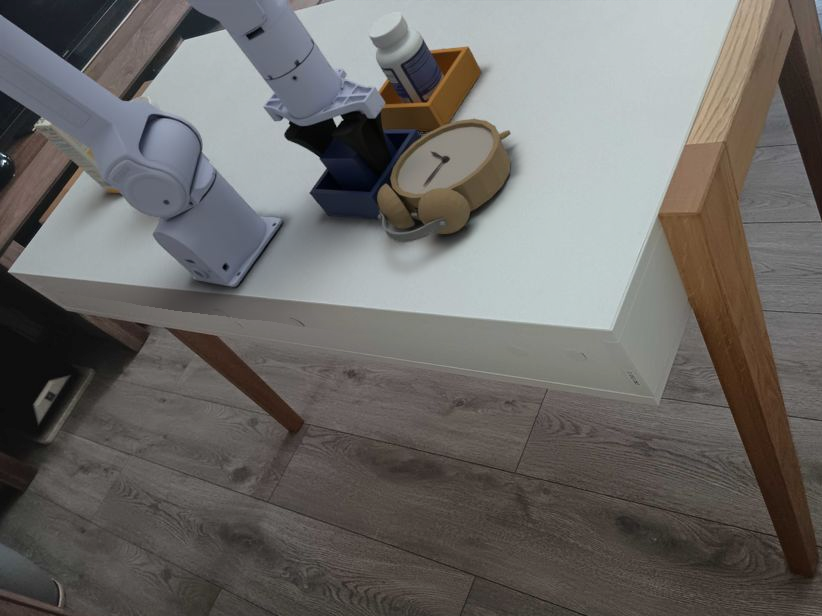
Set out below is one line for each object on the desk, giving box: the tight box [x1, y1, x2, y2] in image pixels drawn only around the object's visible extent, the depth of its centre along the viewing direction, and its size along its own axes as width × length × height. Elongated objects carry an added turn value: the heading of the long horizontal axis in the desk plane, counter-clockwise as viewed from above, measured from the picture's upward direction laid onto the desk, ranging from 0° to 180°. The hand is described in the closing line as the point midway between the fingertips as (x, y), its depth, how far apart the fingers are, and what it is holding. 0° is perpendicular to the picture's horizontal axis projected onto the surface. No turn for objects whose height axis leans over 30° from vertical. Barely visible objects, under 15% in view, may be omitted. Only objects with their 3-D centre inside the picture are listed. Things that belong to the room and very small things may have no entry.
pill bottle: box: [368, 11, 444, 104], centre depth 80 cm, size 5×5×10 cm
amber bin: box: [378, 46, 482, 132], centre depth 83 cm, size 9×9×3 cm
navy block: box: [319, 131, 397, 192], centre depth 77 cm, size 5×5×5 cm
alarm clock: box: [377, 118, 512, 243], centre depth 71 cm, size 11×5×15 cm
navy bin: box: [309, 129, 422, 221], centre depth 78 cm, size 9×9×3 cm
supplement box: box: [33, 116, 121, 194], centre depth 105 cm, size 8×5×13 cm, turn 152°
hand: (367, 168), depth 77 cm, fingers closed on navy block, 5 cm apart
